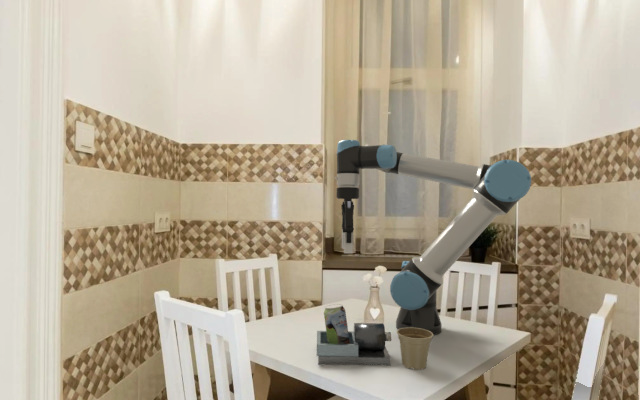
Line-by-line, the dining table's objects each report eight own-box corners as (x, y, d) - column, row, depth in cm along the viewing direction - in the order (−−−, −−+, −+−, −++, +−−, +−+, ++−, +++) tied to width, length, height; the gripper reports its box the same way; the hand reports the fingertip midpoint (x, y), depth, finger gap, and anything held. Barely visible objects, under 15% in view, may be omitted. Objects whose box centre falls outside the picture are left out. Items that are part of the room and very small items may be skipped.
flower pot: (439, 365, 109) (439, 332, 109) (422, 376, 102) (422, 340, 102) (407, 356, 115) (408, 325, 115) (389, 365, 108) (389, 332, 108)
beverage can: (348, 353, 111) (348, 308, 111) (321, 351, 112) (322, 307, 112) (350, 345, 117) (351, 303, 117) (325, 343, 118) (326, 301, 118)
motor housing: (386, 348, 121) (386, 317, 121) (394, 365, 108) (394, 331, 108) (316, 347, 121) (317, 316, 121) (316, 364, 108) (316, 330, 108)
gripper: (335, 188, 149) (334, 246, 149) (338, 185, 124) (337, 255, 124) (355, 188, 149) (355, 247, 149) (363, 185, 124) (362, 255, 124)
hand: (347, 251), depth 137 cm, fingers open, 13 cm apart
